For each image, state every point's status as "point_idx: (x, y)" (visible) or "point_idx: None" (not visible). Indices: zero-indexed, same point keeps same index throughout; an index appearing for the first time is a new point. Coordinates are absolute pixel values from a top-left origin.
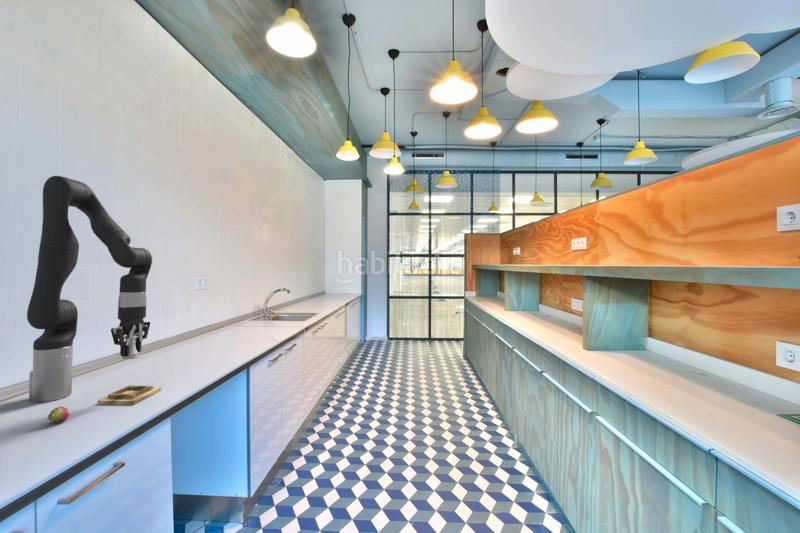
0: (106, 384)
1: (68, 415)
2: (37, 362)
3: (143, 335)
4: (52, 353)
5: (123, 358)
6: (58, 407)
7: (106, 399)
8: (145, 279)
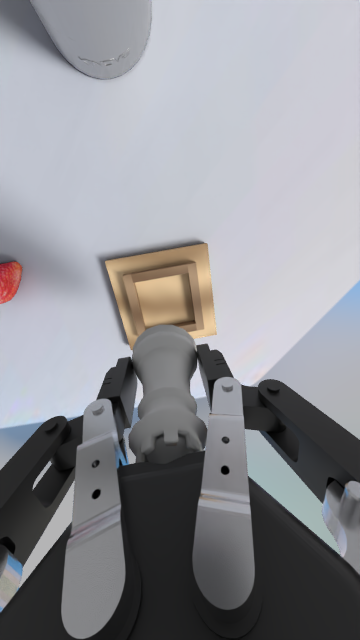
0: (244, 97)
1: (12, 297)
2: None
3: (270, 431)
4: None
5: (134, 349)
6: None
7: (117, 278)
8: None
